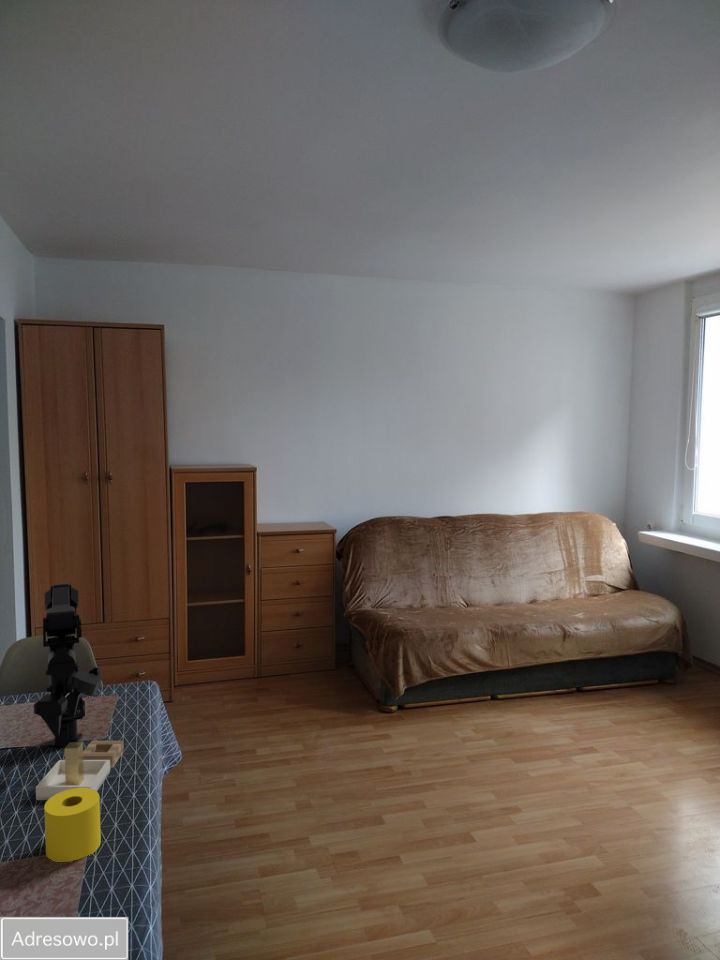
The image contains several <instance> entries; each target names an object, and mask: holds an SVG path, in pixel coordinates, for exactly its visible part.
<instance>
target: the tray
mask: <svg viewBox="0 0 720 960" xmlns="http://www.w3.org/2000/svg"><path fill="white" fill-rule="evenodd" d="M83 764H84V780H83V781H82V783H81V784H80V785H70V786H66V777H65V759H59V760H58V761H56V763H54V765H53V767H51V769H50V770H49V771H48V772H47V773H46V775H45V776H44V777H43V778H42V779H41V780H40V781H39V782H38V784H37V785H36V786H35V800H36V801H48V800H49V799H50V798H51V797H52V796H54V795H56V794H58V793H60V792H63V791H66V790H69V789H74V788H90V789H93V790H95V791H97V792H98V790H99V789H100V788H101V786H102V785H103V783H104V782H105V780H106V779H107V778H108V776H109V775H110V773H111V768H110V760H83Z"/></svg>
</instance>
